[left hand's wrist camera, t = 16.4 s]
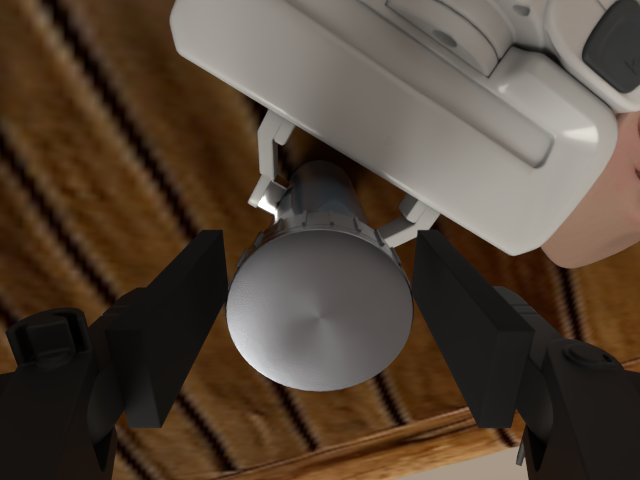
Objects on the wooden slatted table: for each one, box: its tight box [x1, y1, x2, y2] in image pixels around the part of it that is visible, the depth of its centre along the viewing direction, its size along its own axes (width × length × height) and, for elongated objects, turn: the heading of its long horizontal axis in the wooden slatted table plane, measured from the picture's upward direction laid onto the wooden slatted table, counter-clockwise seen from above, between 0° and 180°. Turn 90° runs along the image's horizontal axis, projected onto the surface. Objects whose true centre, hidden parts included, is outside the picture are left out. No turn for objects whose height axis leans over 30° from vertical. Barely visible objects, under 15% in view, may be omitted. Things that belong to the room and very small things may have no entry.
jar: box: [268, 160, 371, 228], centre depth 18 cm, size 5×5×15 cm
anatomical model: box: [540, 111, 640, 268], centre depth 23 cm, size 13×4×12 cm
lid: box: [226, 210, 414, 391], centre depth 11 cm, size 6×6×2 cm
